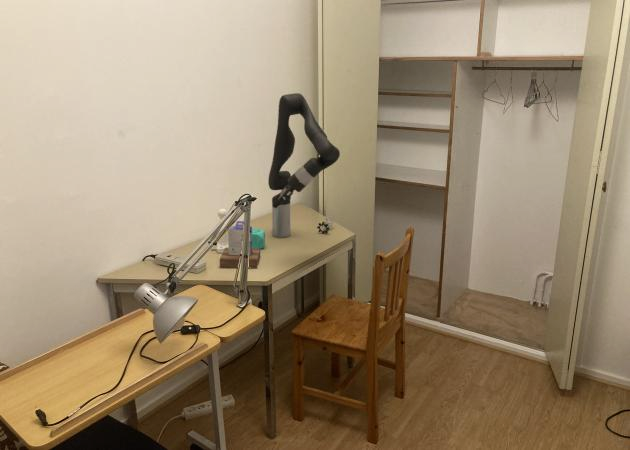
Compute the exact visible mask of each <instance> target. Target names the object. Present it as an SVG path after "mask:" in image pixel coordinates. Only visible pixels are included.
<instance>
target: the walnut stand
mask: <svg viewBox="0 0 630 450" xmlns="http://www.w3.org/2000/svg"><path fill="white" fill-rule="evenodd" d="M239 258H240V255H229V248H225V249H224V251H223V253H221V256H220V257H219V268H220V269H238V268H237V266H238V263H239ZM260 259H261V249H253V253H252V254H251V255H250V256H249V267H251V268H250V269H258V267H257V266H259V264H260Z"/></svg>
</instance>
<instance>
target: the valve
mask: <svg viewBox="0 0 630 450" xmlns="http://www.w3.org/2000/svg"><path fill="white" fill-rule="evenodd" d="M333 218H334V217H333V216H329V215H328V216H325V221H322V222H319V223H318V226H317V227H316V229H319V230H318V233H321V235H324V234H328V233H329V230H330V231H331V230H333V225H334V221H333V220H334V219H333Z"/></svg>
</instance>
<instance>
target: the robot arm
mask: <svg viewBox="0 0 630 450" xmlns="http://www.w3.org/2000/svg"><path fill="white" fill-rule="evenodd" d="M296 115H300V116H302V118H303V120H304V129H303V130H304V133H305V135H306V137H307V138H308V140H309V141H310V143H311V144H312V145H313V148H314V149H315V152H316V153H317V155H319V156H318V157H312V158H310V159H309V160H308V161H306V162H305V163H304V164H303V165H302V166H300V168H298V169H297V170H296V171H295V172H293V174H291V173H290V172H289V170H281V169H282V167H283V166H284V165H285V163H286V162H287V161H288V160H289V159H290V158H291V156H292V155H293V153H294V150H295V149H294V148H295V144H296V138H295V135H294V132H293V131H292V129H291V127H290V117H291V116H296ZM275 135H276V136H275V140H274V149H273V156H272V161H271V166H270V170H269V173H268V184H267V185H268V188H269V189H270V190H271V191H280V192H279V193H277V194H275V195H273V197H272V198H271V205H272V206H271V210H272V211H271V213H272V214H271V221H272V222H271V223H272V224H271V225H272V226H271V227H272V228H271V229H272V231H271V232H272V236H273V237H274V238H277V239H278V238H279V239H283V238H284V239H285V238H289V237H291V197H292V196H293V194H294V191H296V192H297V193H300V192H302V191H303V190H304V189H305V188H306V187H307V186H308V185H309V184H310V183H311V182H312V181H313V180H314V179H315V178H316V177H317V176H318V175H319V174H320V173H321V172H322V171H323V170H325V169H327V168H329V167H331V166H332V165H333V164H335V163H336V162H337V161H338V160H339V158H340V155H341V152H340V149H339V148H337V146H335V145H334V144H333V143H331V142H330V140H329V139H328V136H327V134H326V132H325V131H324V130H323V128H322V127H321V126H320V125H319V123H318V122H317V120H316V118H315V116H314V114H313V112H312V109H311V108H310V105H309V103H308V102H307V100H306V98H305V96H303V94H301V93H298V92H297V93H288V94H282V95H281V97H280V98H279V101H278V113H277V127H276V134H275Z"/></svg>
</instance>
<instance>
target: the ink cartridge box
mask: <svg viewBox="0 0 630 450" xmlns="http://www.w3.org/2000/svg"><path fill="white" fill-rule="evenodd" d="M243 224H244V225H245V221H239V220H237V221H236V224H235V225H231V226H232V227H231V228H230V229H229V228H228V229H229V230H228V229H227V242H228V248H229V255H240V254H241V251H242V241H243ZM249 226H250V241H249V256H250V255H251V254H252V253H253V248H252V229H253V226H251V225H249Z"/></svg>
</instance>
